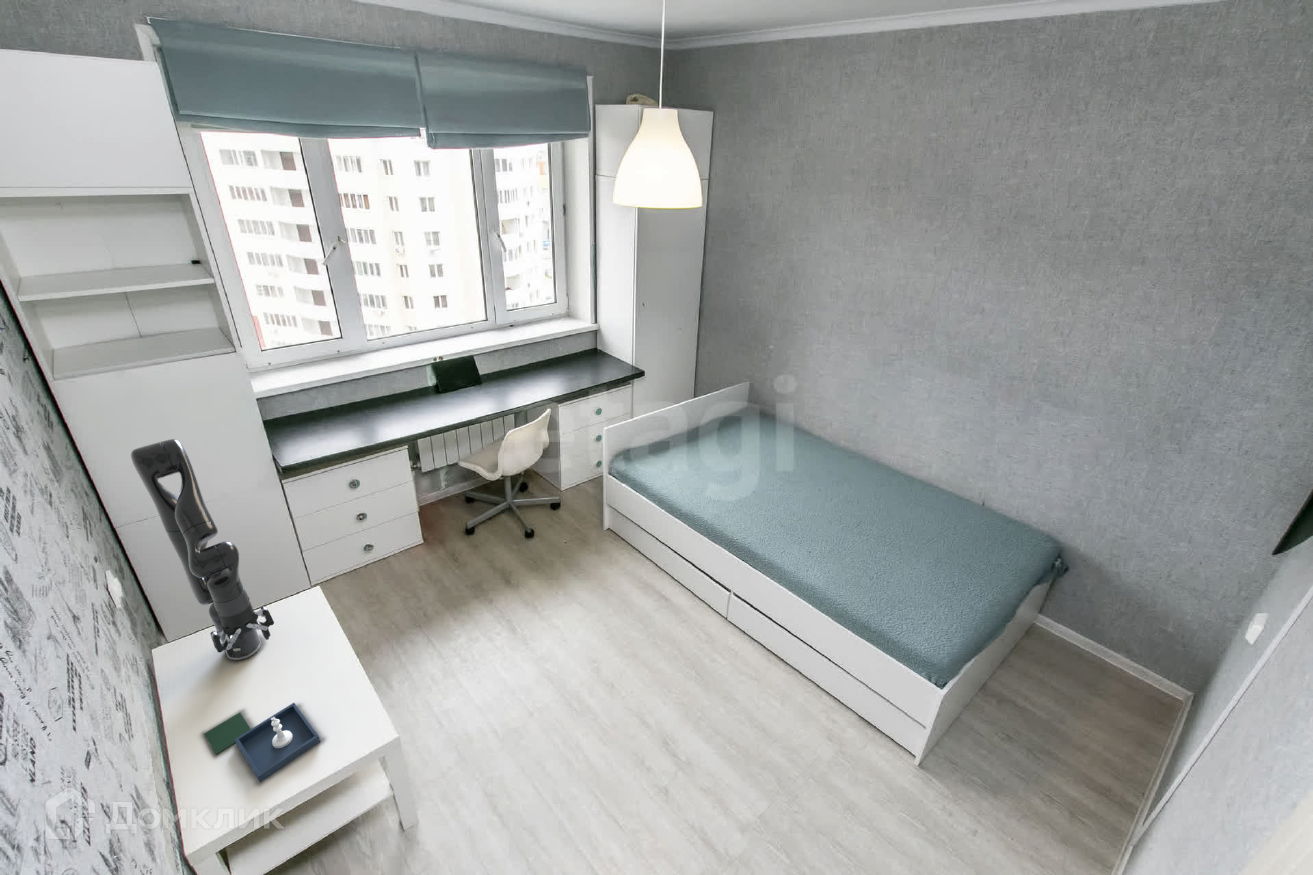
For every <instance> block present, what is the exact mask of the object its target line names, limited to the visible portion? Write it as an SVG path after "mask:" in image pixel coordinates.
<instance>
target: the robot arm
mask: <svg viewBox="0 0 1313 875" xmlns="http://www.w3.org/2000/svg"><path fill="white" fill-rule="evenodd" d="M130 459H131V461H132V465H133V467H134V469H135V471H136V473H137V474H138V477H139V478H140V480H141V482H142V483H143V485H144V487H145V489H146V492H148V494H149V496H150V498H151V500H152V502H153V504H154V506H155V508H156V511H157V513H158V516H159V518H160V520H161V523H162V525H163V528H164V530H165V532H166V534H167V537H168V539H169V541H170V543H171V545H172V547H173V549H174V551H175V552H176V554H177V556H178V558H179V560H180V563H181V565H182V567H183V571H184V574H185V576H186V579H187V582H188V584H189V587H190V589H191V592H192V594H193V596H194V598H195V600H196V601H197V603H198V604H200V605H202V606H207V605H209V607H208V615H209V618H210V619H211V621H212V624H213V625H214V628H215V630H212V631H211V632H210V633H209V634H210V638H211V640H212V643H213V646H214V648H215V649H216V651H217V652H218V653H222V652H223V651H225V654H226V657H227V658H228V659H229V660H231V661H242V660H246V659H248V658H250V657H252V656H254V655H255V654H256V653H257V652H258V651H259V650H260V649H261V646H262V640H261V638H260V636H259V633H258V631H259V630H261V633H262V636H263V639H265V640H266V641H268V640H269V639H270V637H271V632H270V630H269V627H270V626H273V625H275V621H274V619H273V617H272V615H271V613H270V611H269V609H268V608H267V607H266V606H265V605H263V606H261V607H260V610H258V611H254V608H253V605H252V603H251V600H250V597H249V595H248V593H247V591H246V590H245V588H244V585H243V583H242V581H241V578H240V571H239V568H240V553H239V549H238V547H237V546H236V544H234V543H233V542H231V541H221V542H218V543H216V544H213V545H211V546H208V543H209V541H211V540H212V539H214V538H215V537H216V536H217V534H218V533H219V530H218V527H217V525H216V523H215V520H214V519H213V517H212V515H211V513H210V511H209V509H208V507H207V506H206V505H207V504H206V503H205V501H204V497H203V495H202V491H201V488H200V484H199V482H198V479H197V476H196V474H195V471H194V468H193V466H192V463H191V461H190V458H189V456H188V453H187V451H186V449H185V448H184V446H183V445H182V443H181V442H180V440H178V439H175V438H170V439H165V440H162V441H158V442H154V443H151V444H148V445H147V444H146V445H143V446H139V447H137V448H134V449H132V450H131V452H130ZM176 474H179V475H180V480H181V481H180V490H179V494H176V493H174V492H172V491H170V490H169V489H168V488H167V487H166V486H164V485H163V484H162V483H161V482H160V481H159V480H160V479H163V478H165V477H170V476H172V475H176ZM259 617H261V618H264V619H265V621H264V622H263V621H259V620H258V619H259ZM257 630H258V631H257Z"/></svg>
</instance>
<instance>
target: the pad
mask: <svg viewBox="0 0 1313 875" xmlns="http://www.w3.org/2000/svg"><path fill="white" fill-rule="evenodd" d="M250 729H251V727H250V725H249V723H248V722H247V720H246V719H245V717H244V716H243V714H242V713H241V712H238V713H236V714H235V715H232V716H231V717H229V718H228V719H226V720H224V721H222V722H221V723H219V724H218V725H216V726H215V727H213V728H211V729H209V730H208V731H205V733H203V734H204V736H205V738H206V740H207V741H208V743H209V745H210V747H211V748H212V750H213V752H214V754H215V756H218V755H219V754H221V753H222V752H224V751H225V750H227V749H229V748H230V747H232V746H234V745H236V742H235V740H234V739H236V738H237V737H239V736H241V735H242V734H244V733H245V732H247V731H249V730H250Z"/></svg>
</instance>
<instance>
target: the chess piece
mask: <svg viewBox="0 0 1313 875" xmlns="http://www.w3.org/2000/svg"><path fill="white" fill-rule="evenodd" d="M271 720H273V721H272V723H271V725H272V726H273V727H274V728H273V731H277V734H276V735H275V736H274V738H273V740H272V745H273V746H274V747H275V748H282V747H285V746H286V745H288V744H289V743H290V742H291V740H292V738H293V735H292V733H291V732H290V731H282V730H281V728H282V725H281V724H279V723H280V720H279V719H275V717H273V718H271Z"/></svg>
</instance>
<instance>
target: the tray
mask: <svg viewBox="0 0 1313 875" xmlns="http://www.w3.org/2000/svg"><path fill="white" fill-rule="evenodd" d="M273 717H275V719H279V720H280V723H279V724H281V725H282V728H281V730H282V731H290V732H291V733H292V735H293V738H292V740H291V742H290V743H289V744H288V745H286V746H285V747H282V748H275V747H274V746H273V745H272V740H273V738H274V736H275V735H276V734H277V731H273V728H274V727H273V726H272V725H271V723H272V721H273V720H271V718H273ZM234 740H235V742H236V743H235V745H236V746H237V748H238V749H239V751H240V752H241V754H242V756H243V758H244V759H245V761H246V762H247V764H248V766H249V767H250V769H251V771H252V773H253V774H254V775H255V777H256V778H257V780H258V782H259V783H262V782H264V781H265V780H266V779H268V778H269V777H271V776H272V775H274V774H275V773H276V772H278V771H280V770H281V769H283V768H284V767H285V766H286V765H289V763H291V762H293V761H294V760H296V759H297V758H298V757H300V756H302V755H303V754H305V753H306V752H307V751H309V750H311V749H312V748H313V747H315V746H316V745H318V744H319V743H320V742H321V739H320V736H319V734H318V733H317V731H316V730H315V728H313V726H312V724H311V723H310V722H309V720H308V719H307V718H306V716H305V715H304V714H303V712H302V711H301V710H300V708H299V707H298V706H297V704H296V703H295V702H292V703H291V704H289V705H287V706H285V707H283V709H281V710H279V711H278V712H276V713H274V714H273V715H272V716H270V717H268V718H266V719H265V720H263V721H261V722H260V723H259V724H256V725H255V726H253V727H252V728H250V730H249V731H247V732H245V733H244V734H242V735H241V736H239V737H237V738H236V739H234Z"/></svg>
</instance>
